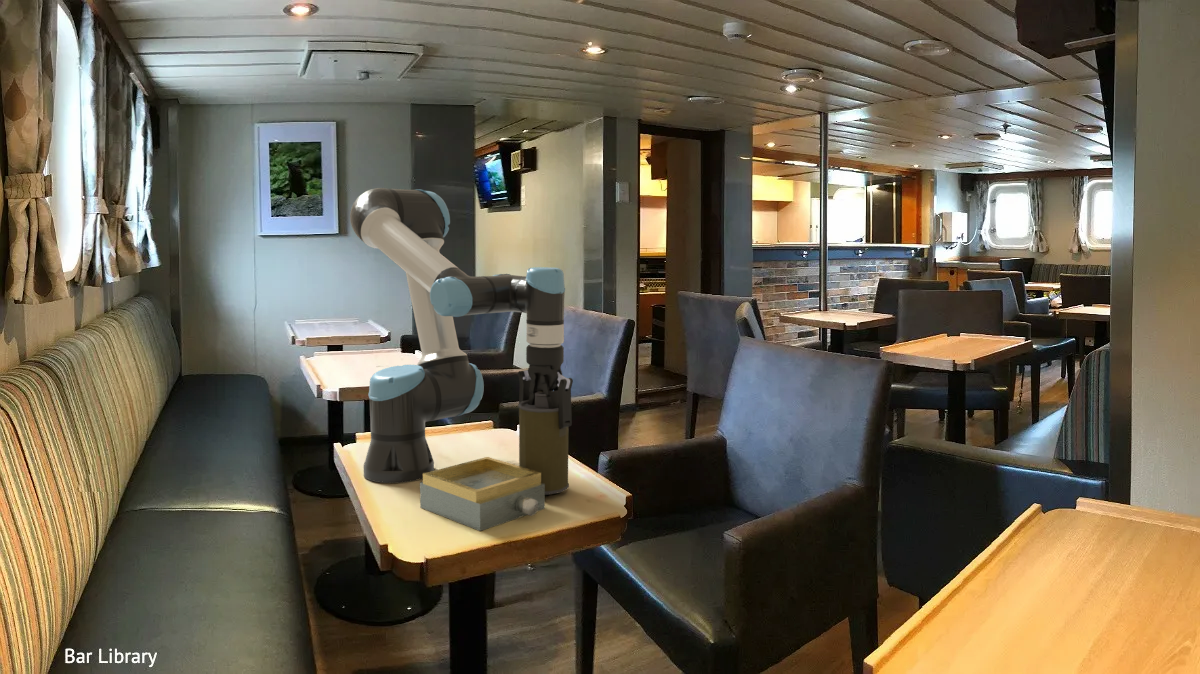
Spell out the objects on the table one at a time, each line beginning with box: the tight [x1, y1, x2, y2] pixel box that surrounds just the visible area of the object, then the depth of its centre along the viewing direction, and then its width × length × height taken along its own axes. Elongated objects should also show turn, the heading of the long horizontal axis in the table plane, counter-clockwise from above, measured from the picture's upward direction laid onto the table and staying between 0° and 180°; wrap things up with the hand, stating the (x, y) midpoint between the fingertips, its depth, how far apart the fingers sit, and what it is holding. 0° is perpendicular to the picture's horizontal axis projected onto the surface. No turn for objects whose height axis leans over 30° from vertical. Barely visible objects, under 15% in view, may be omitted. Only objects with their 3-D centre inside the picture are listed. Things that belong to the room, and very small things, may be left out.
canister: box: [517, 390, 570, 496], centre depth 162 cm, size 11×10×20 cm
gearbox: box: [419, 456, 546, 532], centre depth 152 cm, size 21×16×7 cm
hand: (544, 456), depth 163 cm, fingers open, 6 cm apart
